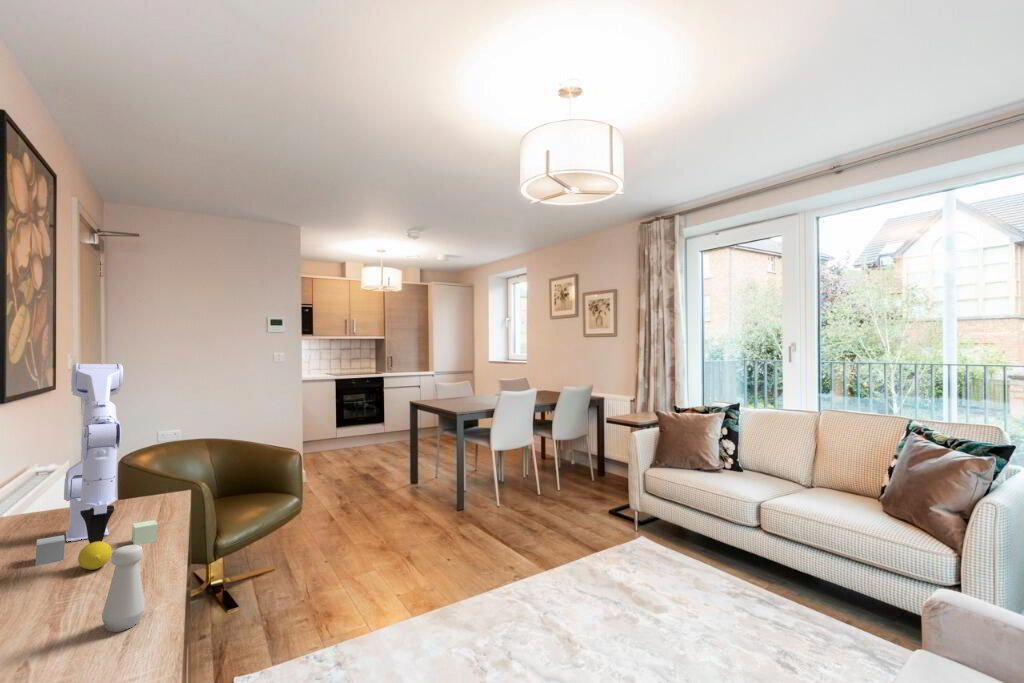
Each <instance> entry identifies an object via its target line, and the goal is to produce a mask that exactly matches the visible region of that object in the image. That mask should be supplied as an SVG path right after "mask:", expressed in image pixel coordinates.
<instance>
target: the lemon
mask: <svg viewBox="0 0 1024 683" xmlns="http://www.w3.org/2000/svg"><path fill="white" fill-rule="evenodd" d="M112 553H113V550H112V547H111V545H110V544H108V543H107V542H106V541H102V542H101V541H98V542H93V543H89V544H87V545H85V546H84V547H83V548H82V549H81V550H80V552H79V554H78V558H77V561H78V564H79V566H81V567H82V568H83V569H85V570H97V569H99V568H102V567H104V565H107V563H109V561H110V560H111V556H112Z"/></svg>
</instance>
